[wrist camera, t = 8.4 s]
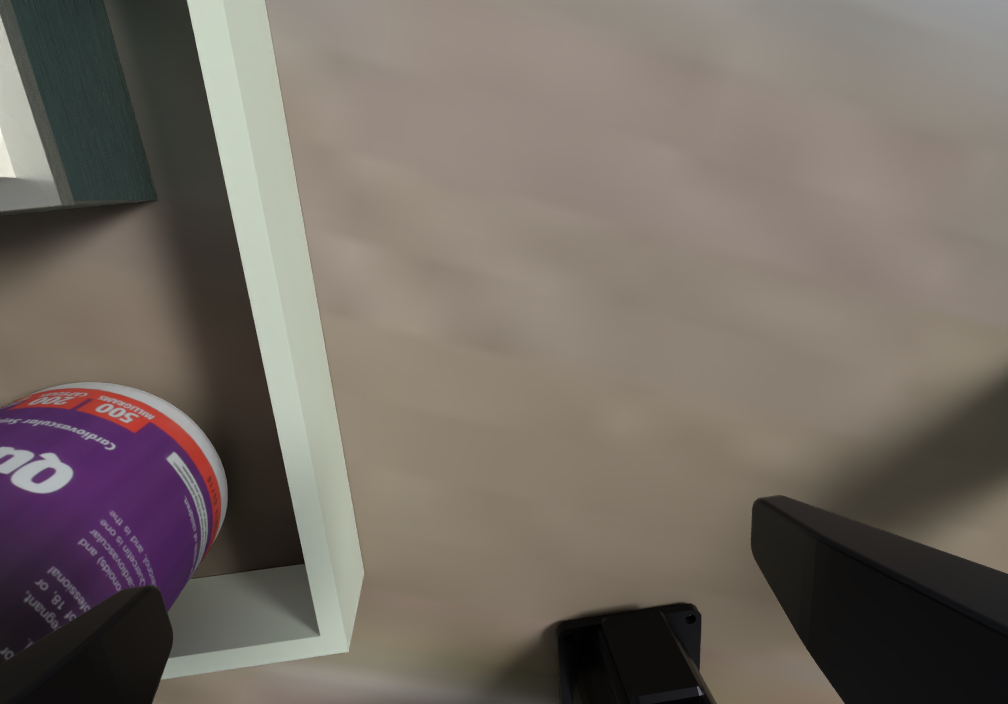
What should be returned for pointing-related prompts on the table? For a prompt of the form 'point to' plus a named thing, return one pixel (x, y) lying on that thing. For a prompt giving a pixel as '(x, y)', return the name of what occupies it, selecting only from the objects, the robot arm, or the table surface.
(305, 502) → the tote
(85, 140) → the tin
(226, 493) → the pill bottle
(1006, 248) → the table surface
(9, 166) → the carton
